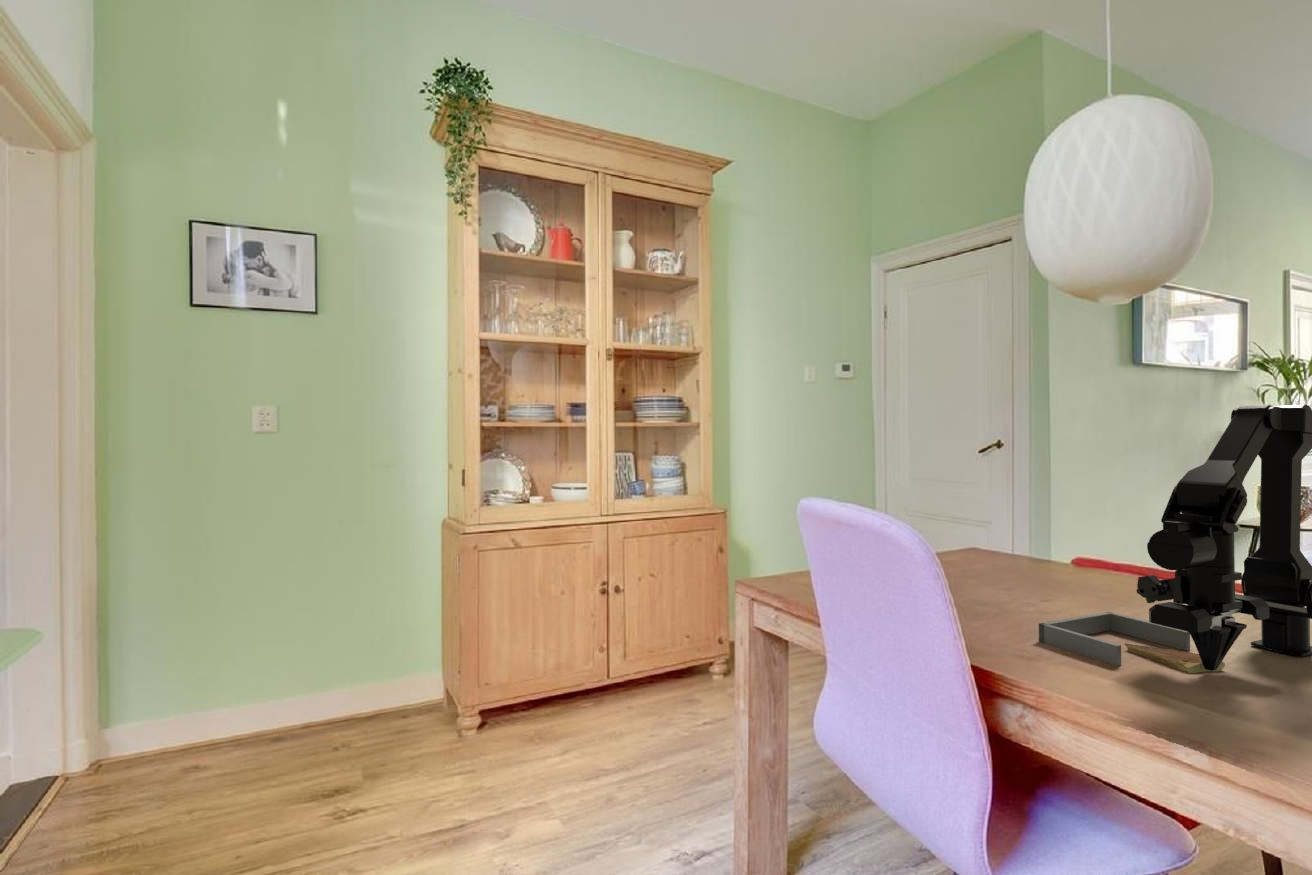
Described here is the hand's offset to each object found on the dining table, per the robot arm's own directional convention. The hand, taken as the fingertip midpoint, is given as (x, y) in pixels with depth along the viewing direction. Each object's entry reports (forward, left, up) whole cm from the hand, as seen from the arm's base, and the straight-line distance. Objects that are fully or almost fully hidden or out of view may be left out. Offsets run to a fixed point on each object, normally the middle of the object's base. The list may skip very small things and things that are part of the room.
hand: (1210, 669), depth 95 cm
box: (0, -14, -1) cm, 14 cm away
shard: (0, -5, -1) cm, 5 cm away
